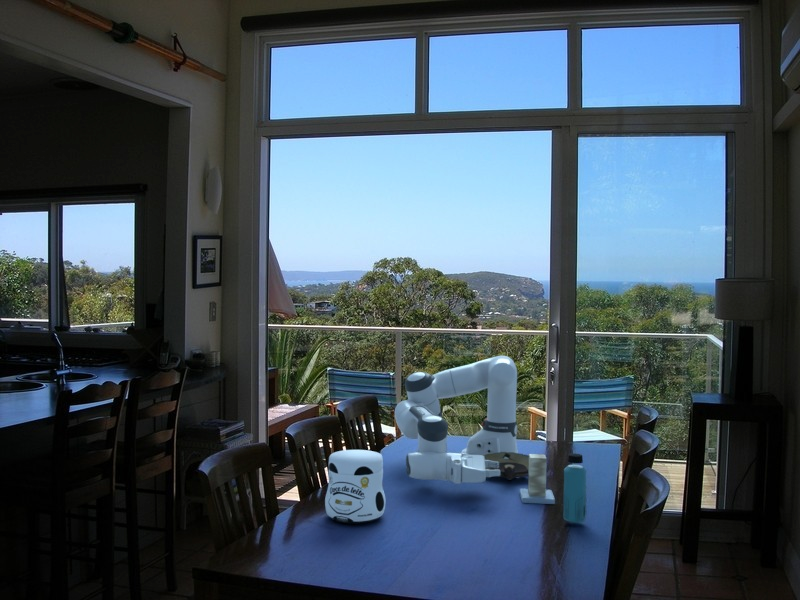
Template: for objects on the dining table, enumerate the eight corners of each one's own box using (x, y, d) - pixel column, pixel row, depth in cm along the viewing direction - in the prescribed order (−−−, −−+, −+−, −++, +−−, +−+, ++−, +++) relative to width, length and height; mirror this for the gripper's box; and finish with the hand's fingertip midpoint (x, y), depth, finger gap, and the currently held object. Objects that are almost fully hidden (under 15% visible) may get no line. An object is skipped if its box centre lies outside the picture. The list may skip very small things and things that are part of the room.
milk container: (330, 530, 196) (331, 465, 195) (320, 510, 213) (321, 450, 212) (391, 526, 201) (393, 461, 200) (377, 506, 217) (378, 447, 217)
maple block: (529, 495, 226) (530, 457, 225) (528, 491, 231) (529, 453, 230) (545, 496, 225) (546, 458, 225) (544, 491, 230) (544, 454, 230)
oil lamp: (548, 471, 261) (549, 450, 261) (521, 492, 235) (522, 468, 235) (490, 462, 272) (491, 442, 272) (459, 481, 246) (459, 459, 245)
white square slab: (522, 502, 223) (522, 497, 223) (519, 493, 233) (519, 488, 233) (554, 504, 222) (554, 499, 222) (551, 494, 232) (551, 489, 232)
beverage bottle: (586, 529, 201) (588, 457, 200) (562, 527, 202) (564, 456, 201) (585, 521, 207) (587, 452, 206) (561, 519, 208) (563, 450, 208)
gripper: (456, 468, 241) (498, 470, 239) (455, 485, 220) (500, 487, 219) (456, 449, 240) (498, 451, 239) (455, 465, 220) (501, 467, 219)
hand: (499, 468), depth 229 cm, fingers open, 8 cm apart
